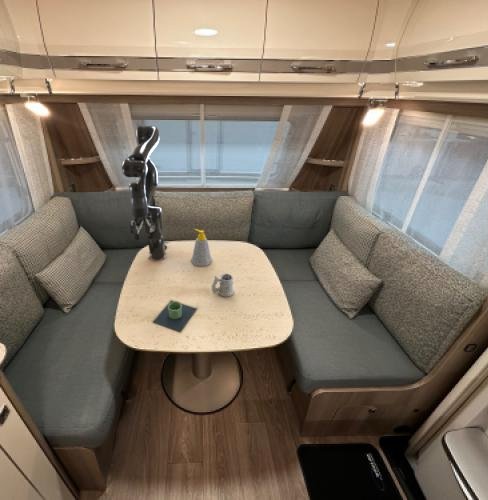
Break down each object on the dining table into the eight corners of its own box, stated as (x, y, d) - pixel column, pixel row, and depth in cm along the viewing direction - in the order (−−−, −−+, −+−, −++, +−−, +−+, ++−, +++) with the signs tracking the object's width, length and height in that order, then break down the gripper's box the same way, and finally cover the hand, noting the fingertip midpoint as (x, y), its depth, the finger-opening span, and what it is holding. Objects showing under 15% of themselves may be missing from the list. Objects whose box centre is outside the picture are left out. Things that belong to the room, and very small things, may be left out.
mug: (235, 295, 136) (237, 276, 130) (214, 300, 133) (214, 281, 127) (229, 286, 143) (230, 268, 137) (208, 291, 139) (209, 272, 133)
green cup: (173, 308, 127) (172, 300, 124) (184, 312, 125) (184, 303, 122) (166, 317, 122) (165, 308, 119) (178, 321, 120) (177, 312, 117)
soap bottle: (199, 253, 172) (199, 224, 162) (215, 259, 166) (216, 230, 156) (187, 261, 163) (186, 232, 153) (203, 268, 157) (203, 238, 147)
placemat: (171, 300, 132) (171, 300, 132) (196, 308, 127) (196, 308, 127) (152, 322, 120) (152, 321, 120) (180, 332, 115) (180, 331, 115)
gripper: (141, 199, 130) (145, 229, 138) (122, 208, 119) (127, 240, 127) (154, 201, 128) (157, 232, 136) (136, 211, 116) (140, 244, 124)
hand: (143, 236), depth 131 cm, fingers open, 8 cm apart
